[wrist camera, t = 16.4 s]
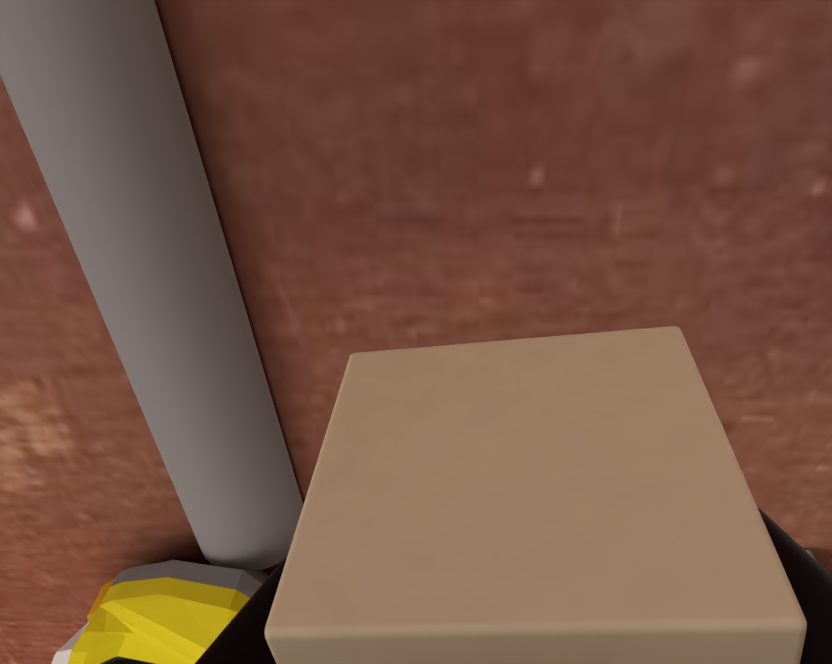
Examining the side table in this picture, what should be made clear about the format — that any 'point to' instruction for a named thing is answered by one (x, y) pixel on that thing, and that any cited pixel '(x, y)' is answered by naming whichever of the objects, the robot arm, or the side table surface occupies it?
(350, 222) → the side table surface
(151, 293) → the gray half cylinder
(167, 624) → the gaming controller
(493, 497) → the block
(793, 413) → the side table surface
